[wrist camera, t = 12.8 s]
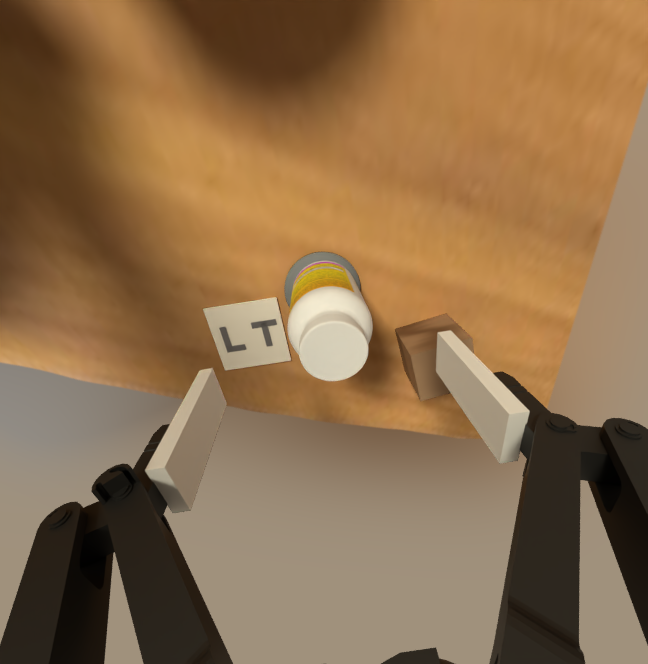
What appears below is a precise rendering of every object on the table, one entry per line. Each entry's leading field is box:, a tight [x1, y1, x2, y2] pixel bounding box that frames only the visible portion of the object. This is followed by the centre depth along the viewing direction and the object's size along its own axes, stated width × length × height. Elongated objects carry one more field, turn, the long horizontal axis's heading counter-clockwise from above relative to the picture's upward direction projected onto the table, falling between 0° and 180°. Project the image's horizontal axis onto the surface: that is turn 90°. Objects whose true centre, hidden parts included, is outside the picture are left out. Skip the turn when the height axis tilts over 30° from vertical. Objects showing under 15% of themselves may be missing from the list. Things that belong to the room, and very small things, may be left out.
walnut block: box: [395, 314, 474, 401], centre depth 32 cm, size 6×6×6 cm
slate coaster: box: [285, 252, 360, 307], centre depth 31 cm, size 8×8×1 cm
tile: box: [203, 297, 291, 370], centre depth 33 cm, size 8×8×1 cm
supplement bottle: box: [288, 261, 373, 381], centre depth 25 cm, size 7×7×13 cm
